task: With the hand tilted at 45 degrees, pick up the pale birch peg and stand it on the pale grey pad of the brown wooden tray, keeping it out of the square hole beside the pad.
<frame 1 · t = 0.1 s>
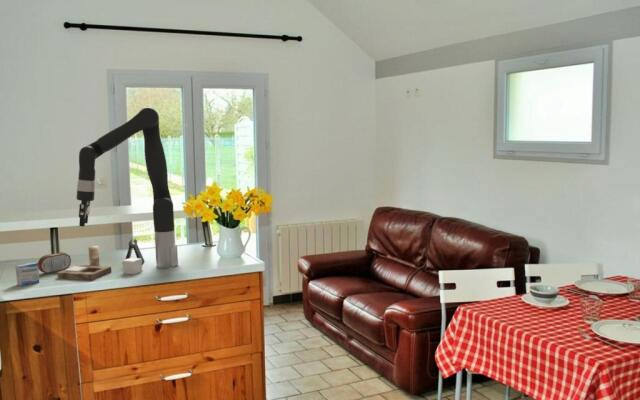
hand: (83, 224, 273), 22 cm above the table, tool pointing down, fingers open, 8 cm apart
brown wooden tray: (84, 274, 271), on the table
dark grey angled piece: (134, 264, 290), on the table
medicine box: (28, 283, 258), on the table
white rounded cube: (132, 272, 275), on the table
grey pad: (76, 269, 271), resting on brown wooden tray
birch peg: (94, 267, 284), on the table
tin: (55, 271, 278), on the table
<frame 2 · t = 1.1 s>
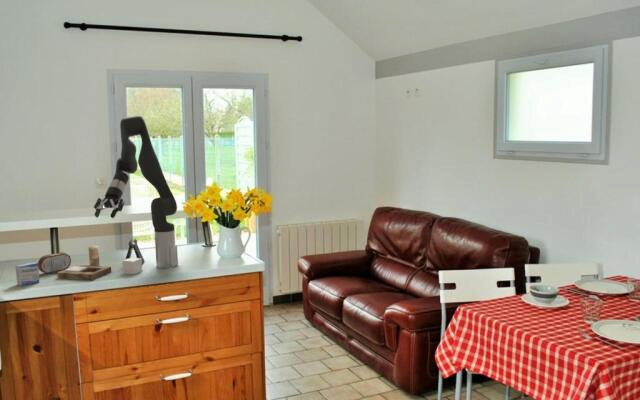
hand: (104, 216, 290), 23 cm above the table, tool tilted 45°, fingers open, 8 cm apart
nothing on the table moved.
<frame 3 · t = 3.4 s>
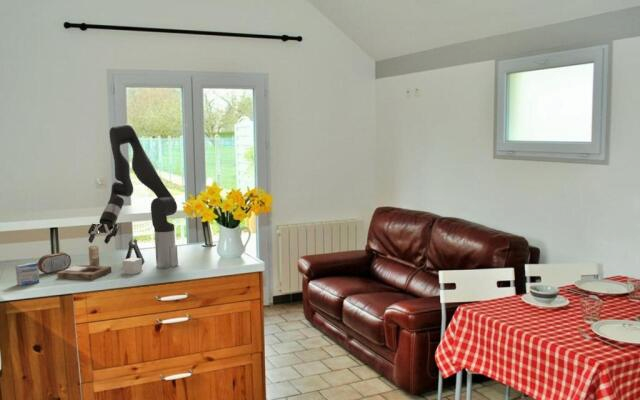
hand: (97, 242, 286), 11 cm above the table, tool tilted 45°, fingers open, 8 cm apart
nothing on the table moved.
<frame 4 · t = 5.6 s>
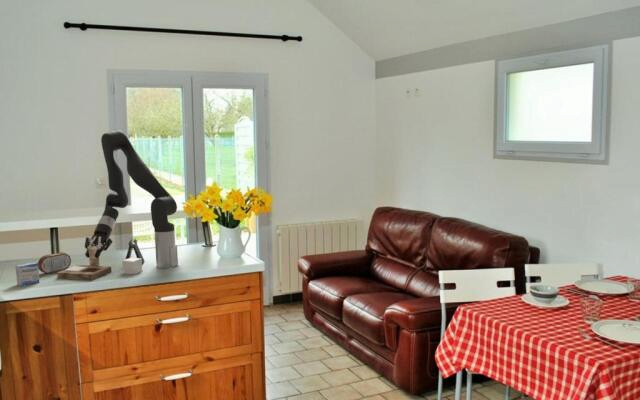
hand: (91, 256, 281), 6 cm above the table, tool tilted 45°, fingers closed on birch peg, 4 cm apart
birch peg: (94, 267, 284), on the table, touching gripper
everything else where it was.
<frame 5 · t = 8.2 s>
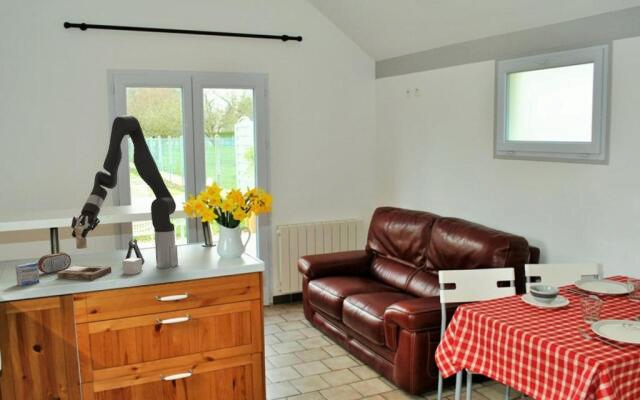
hand: (78, 236, 273), 17 cm above the table, tool tilted 45°, fingers closed on birch peg, 4 cm apart
birch peg: (81, 247, 275), point 11 cm above the table, touching gripper
everything else where it was.
when the fingers open (10 cm above the table, at t = 10.7 s): birch peg drops 1 cm, resting on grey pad.
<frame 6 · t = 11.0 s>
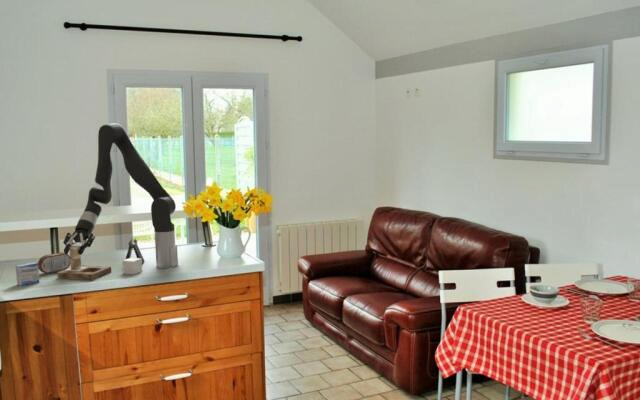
hand: (72, 253, 269), 10 cm above the table, tool tilted 45°, fingers open, 6 cm apart
birch peg: (76, 268, 271), point 3 cm above the table, touching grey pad
everything else where it was.
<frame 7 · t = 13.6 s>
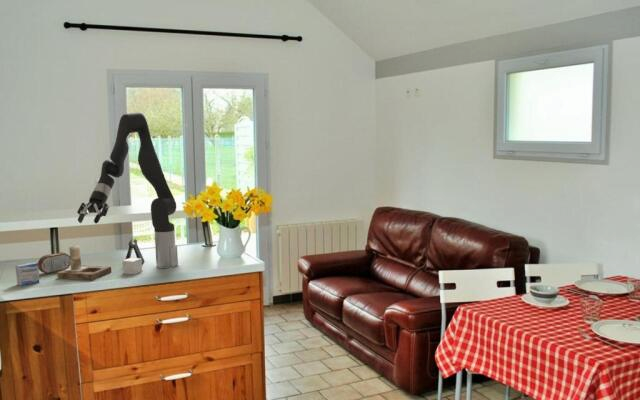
hand: (87, 222, 279), 22 cm above the table, tool tilted 45°, fingers open, 8 cm apart
nothing on the table moved.
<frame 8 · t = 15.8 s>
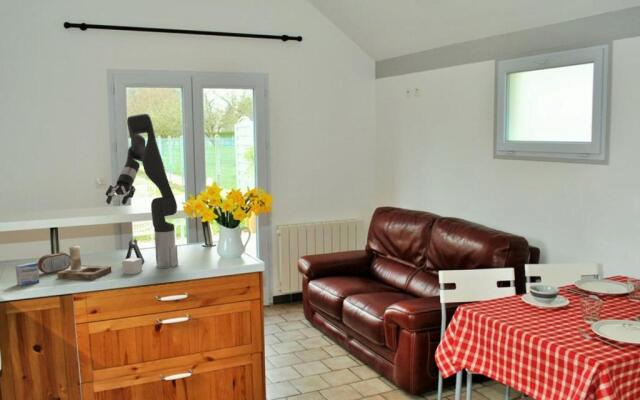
hand: (115, 203, 294), 29 cm above the table, tool tilted 45°, fingers open, 8 cm apart
nothing on the table moved.
at the end: birch peg 0.1 cm from the target spot on the brown wooden tray, point 2.8 cm above the brown wooden tray's base; birch peg tilted 0°; the gripper is holding nothing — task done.
